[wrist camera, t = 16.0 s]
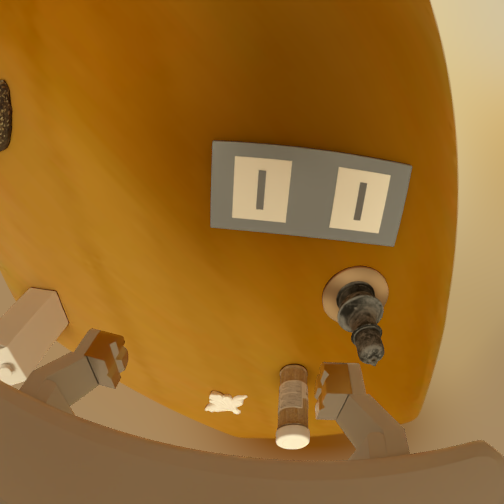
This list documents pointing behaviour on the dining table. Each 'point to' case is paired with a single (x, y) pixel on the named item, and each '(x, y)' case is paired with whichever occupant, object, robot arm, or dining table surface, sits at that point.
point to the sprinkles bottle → (293, 408)
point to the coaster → (350, 276)
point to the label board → (307, 192)
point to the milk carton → (29, 333)
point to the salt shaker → (362, 319)
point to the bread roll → (5, 115)
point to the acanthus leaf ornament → (224, 402)
